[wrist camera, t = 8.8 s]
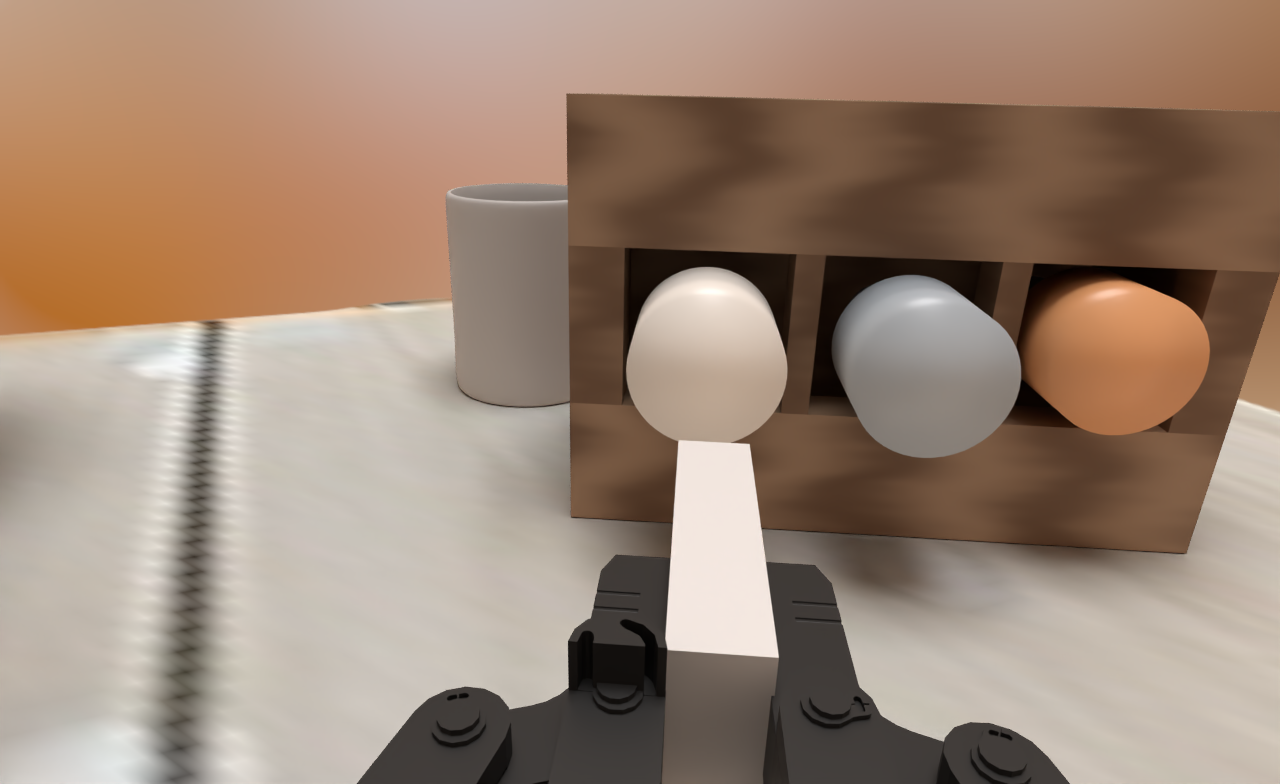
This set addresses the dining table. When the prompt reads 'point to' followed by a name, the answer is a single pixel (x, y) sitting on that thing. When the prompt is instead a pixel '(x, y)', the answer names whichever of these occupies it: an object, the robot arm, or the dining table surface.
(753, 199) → the panel
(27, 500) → the dining table surface
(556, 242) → the mug
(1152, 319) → the orange button
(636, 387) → the white button
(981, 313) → the grey button
